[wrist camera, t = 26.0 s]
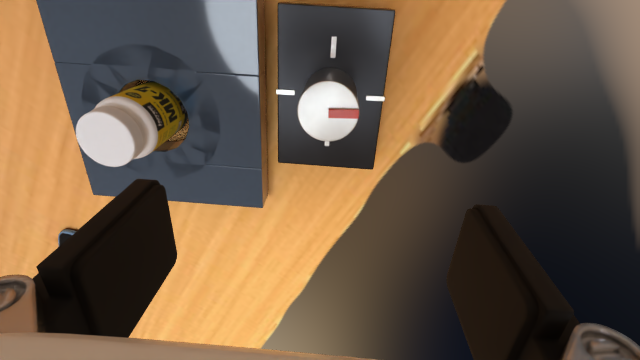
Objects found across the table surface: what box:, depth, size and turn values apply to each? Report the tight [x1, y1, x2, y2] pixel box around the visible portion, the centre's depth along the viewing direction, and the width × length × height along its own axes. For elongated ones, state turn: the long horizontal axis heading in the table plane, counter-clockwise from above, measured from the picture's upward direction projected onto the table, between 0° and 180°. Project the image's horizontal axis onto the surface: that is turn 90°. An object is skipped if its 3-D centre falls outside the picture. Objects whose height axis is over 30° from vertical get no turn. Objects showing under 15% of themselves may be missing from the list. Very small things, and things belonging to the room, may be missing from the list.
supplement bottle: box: [76, 81, 188, 167], centre depth 27 cm, size 5×5×8 cm
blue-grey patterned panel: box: [36, 0, 268, 208], centre depth 29 cm, size 18×16×2 cm
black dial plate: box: [276, 2, 395, 169], centre depth 27 cm, size 12×8×3 cm
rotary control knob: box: [297, 68, 359, 141], centre depth 24 cm, size 4×4×5 cm
